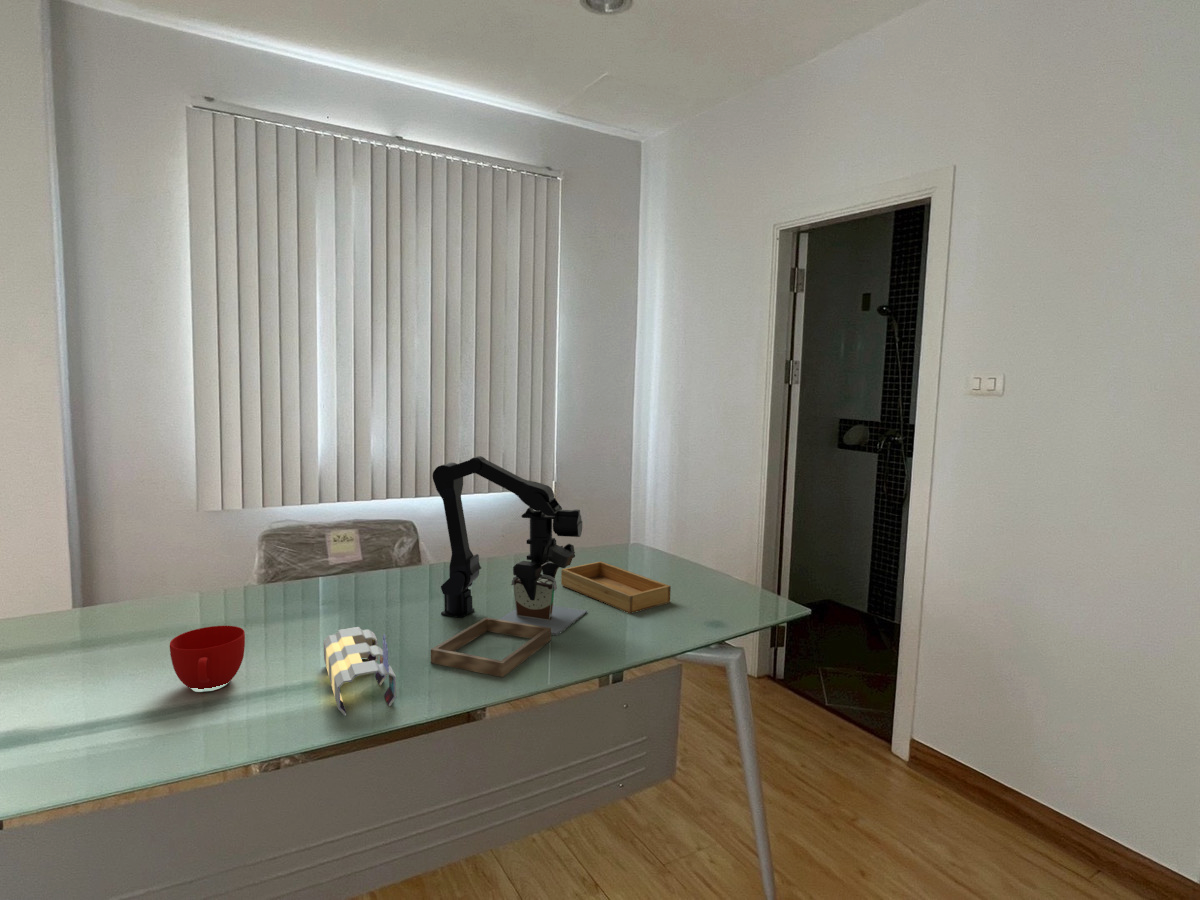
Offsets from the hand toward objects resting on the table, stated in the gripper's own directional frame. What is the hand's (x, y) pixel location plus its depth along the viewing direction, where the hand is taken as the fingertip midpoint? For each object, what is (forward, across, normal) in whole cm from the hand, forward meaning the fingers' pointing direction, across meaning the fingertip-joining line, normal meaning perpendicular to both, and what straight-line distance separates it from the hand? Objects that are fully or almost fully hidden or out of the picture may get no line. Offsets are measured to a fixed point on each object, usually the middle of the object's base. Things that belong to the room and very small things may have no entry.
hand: (541, 594), depth 175 cm
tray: (+7, +26, -10) cm, 29 cm away
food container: (+6, +1, +1) cm, 6 cm away
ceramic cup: (+6, -62, +41) cm, 75 cm away
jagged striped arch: (+7, -48, +16) cm, 52 cm away
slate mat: (+6, 0, 0) cm, 6 cm away
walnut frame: (+6, -23, 0) cm, 24 cm away
